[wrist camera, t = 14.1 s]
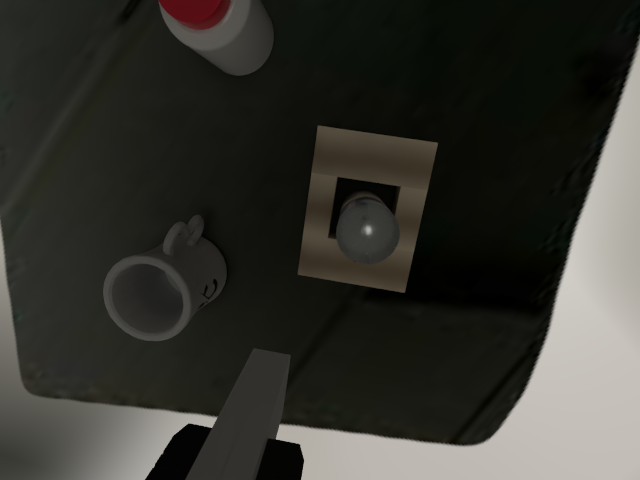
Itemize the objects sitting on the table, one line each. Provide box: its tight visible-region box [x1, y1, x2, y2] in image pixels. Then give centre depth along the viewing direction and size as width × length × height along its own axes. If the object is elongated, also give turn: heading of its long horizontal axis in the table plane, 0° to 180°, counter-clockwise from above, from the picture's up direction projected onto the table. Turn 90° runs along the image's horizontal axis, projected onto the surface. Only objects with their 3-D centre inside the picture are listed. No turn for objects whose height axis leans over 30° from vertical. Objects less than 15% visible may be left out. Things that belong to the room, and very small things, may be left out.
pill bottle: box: [158, 0, 274, 76], centre depth 29 cm, size 8×8×11 cm
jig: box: [298, 126, 438, 293], centre depth 36 cm, size 16×12×3 cm
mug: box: [103, 215, 227, 341], centre depth 36 cm, size 12×9×10 cm
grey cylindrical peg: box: [336, 189, 400, 264], centre depth 31 cm, size 5×5×14 cm
